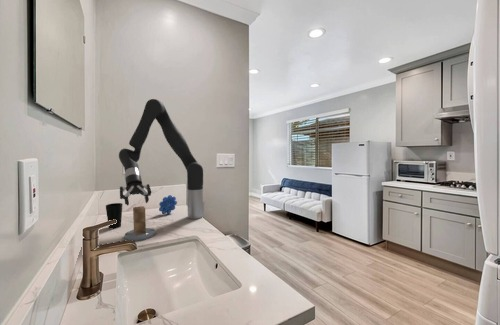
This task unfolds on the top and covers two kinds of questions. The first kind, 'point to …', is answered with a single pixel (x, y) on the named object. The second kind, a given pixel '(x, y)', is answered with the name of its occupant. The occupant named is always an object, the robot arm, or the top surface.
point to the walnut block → (139, 220)
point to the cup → (114, 214)
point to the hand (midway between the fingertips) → (137, 203)
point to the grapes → (167, 204)
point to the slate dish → (140, 235)
